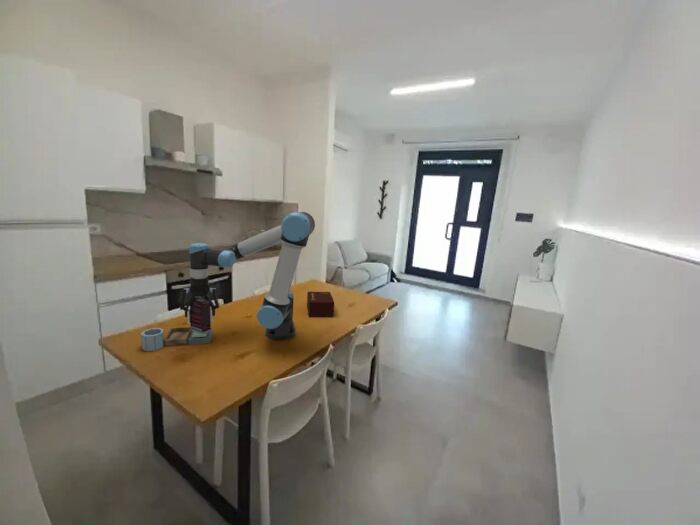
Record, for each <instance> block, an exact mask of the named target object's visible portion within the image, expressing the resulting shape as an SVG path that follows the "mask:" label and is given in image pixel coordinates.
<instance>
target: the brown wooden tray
mask: <svg viewBox="0 0 700 525" xmlns="http://www.w3.org/2000/svg"><path fill="white" fill-rule="evenodd" d="M191 332H192V330H191V326H180V327H170V329H169V330H168V332H167V334H166V336H164V347H177V346H189V345H188V339H189V337H190V334H191ZM164 347H163V348H164Z"/></svg>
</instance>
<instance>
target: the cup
mask: <svg viewBox="0 0 700 525" xmlns="http://www.w3.org/2000/svg"><path fill="white" fill-rule="evenodd" d="M140 339H141V350H143V351H144V352H155V351H158V350H161V349H162V348H164V339H165V330H164V329H163V328H160V327H154V328H149V329H145V330H143V331H141V333H140Z"/></svg>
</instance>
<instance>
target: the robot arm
mask: <svg viewBox="0 0 700 525" xmlns="http://www.w3.org/2000/svg"><path fill="white" fill-rule="evenodd" d="M315 227H316V224H315V219H314V217H313V216H312V214H310V213H308V212H306V211H294V212H291V213H289V214H288V215H286V216H285V217H284V218H283V220H282V221H281V224H280V225H278V226H275V227H272V228H270V229H269V230H266V231H264V232H261V233H259V234H256V235H254V236H251V237H249V238H247V239H245V240H242V241H239V242H237V243H235V244H232V245H229V246H227V247H224V248H220V249H214V248H209V245H208V244H207V243H203V242H194V243H191V244H190V245H189V253H188V254H189V274H190V276H189V277H190V279H189V282H190V284H189V285H190V287H189V288H188V287H187V288H186V287H184V288H183V289H182V294H183V295H182V299H181V303H180V307H179V309H180V311H184V317H185V318H187V325H191V321H190V305H191V303H192V301H193V299H194V297H199V296H200V297H203V298H205V299H206V300H209V299H210V322H211V324H212V323H213V321H214V319H213V317H214V316H216V309H219V308H220V304H219V299H218V296H217V292H216V291H217V287H210V286H209V281H210V280H209V267H210V266H211V267H221V268H232V267H233V266H234V265H235V263H236V262H237V261H239V260H242V259H243V258H246V257H248V256H252V255H253V254H255V253H257V252H260V251H262V250H265V249H267V248H270V247H273V246H275V245H277V244H279V243H282V245H281V249H280V251H279V252H280V253H279V256H278V259H277V263H276V265H275V266H276V268H275V270H274V273H273V276H272V281H271V285H270V288H269V292H268V293H265V295H264V297H263V300H262V305H261V307H259V309H258V311H257V313H256V319H257V321H258V322H259V324H260V325H261V326H262V327H263V328H265V336H266V337H267V338H269V339H271V340H275V341H277V340H278V341H283V340H288V339H291V338H293V337H295V335H296V334H297V333H296V332H297V330H296V326H295V322H294V320H293V318H294V317H293V316H294V299H295V297H294V292H293V291H291V287H292V284H293V280H294V276H295V273H296V270H297V267H298V263H299V260H300V257H301V252H302V250H303V249H304V248H306V247H307V244H308V241H309V239H310V236H311V235H312V234H313V233H314V231H315ZM189 292H190V293H191V294H192V295H191V297H190V298H191V299H190V298H189V301H188V303H187V304H186V300H187V296H188V293H189ZM209 292H210V293H212V297H213V300H212V298H211V297H210V296H209ZM185 305H186V306H185Z"/></svg>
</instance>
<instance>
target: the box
mask: <svg viewBox="0 0 700 525" xmlns="http://www.w3.org/2000/svg"><path fill="white" fill-rule="evenodd" d="M306 308H307V316H309V317H308V318H334V313H335V300H334V298H333V296H332V293H331V291H307V298H306Z"/></svg>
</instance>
